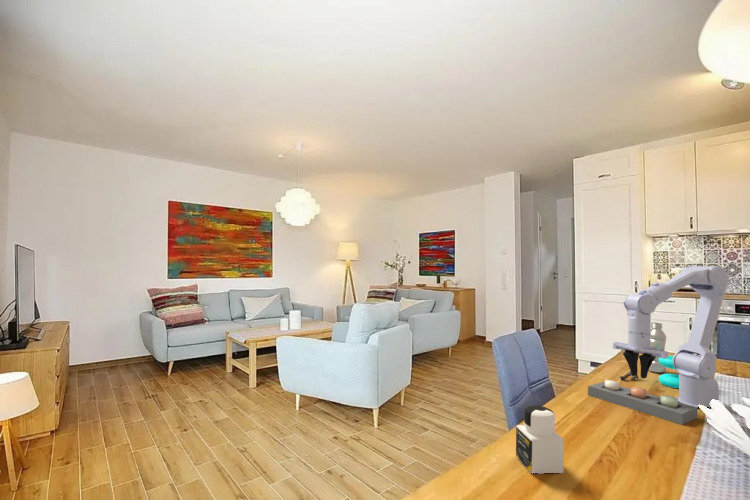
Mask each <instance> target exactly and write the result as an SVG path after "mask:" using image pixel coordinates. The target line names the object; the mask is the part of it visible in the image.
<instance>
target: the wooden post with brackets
mask: <svg viewBox="0 0 750 500" xmlns="http://www.w3.org/2000/svg"><path fill="white" fill-rule="evenodd" d="M629 377H630V380H631V381H635V380H636V379H639V375H638V374H637V375H636V376H632V375H631V371H630V370H629V371H628V372H627V373H626V374H624V375H623V376H622V375H620V376H619V378H620V381H623V380H624V381H623V382H627V381H626V380H627V379H628V378H629Z"/></svg>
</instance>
